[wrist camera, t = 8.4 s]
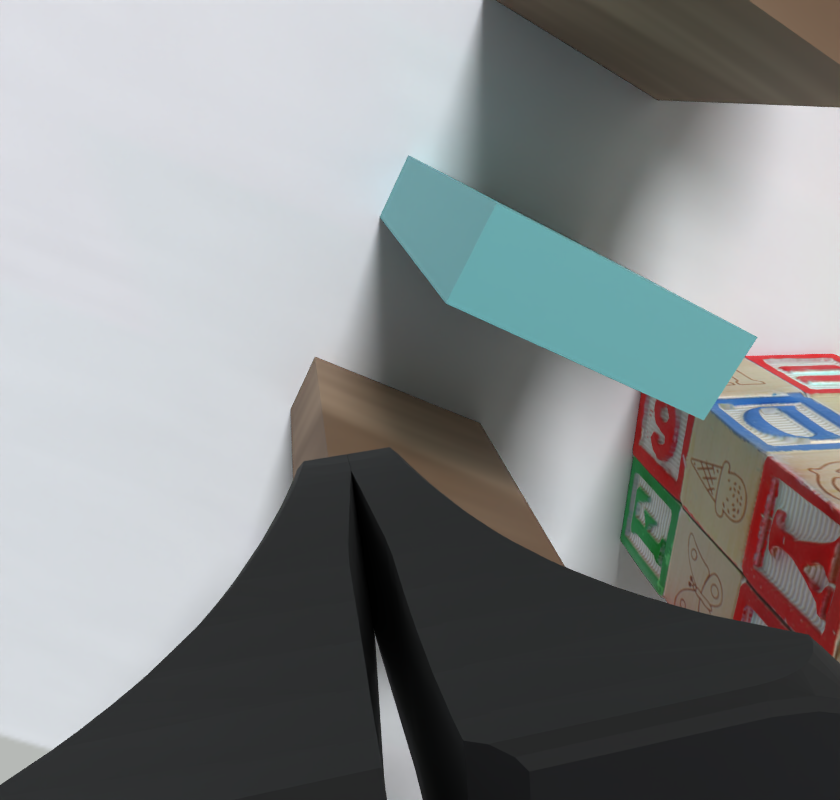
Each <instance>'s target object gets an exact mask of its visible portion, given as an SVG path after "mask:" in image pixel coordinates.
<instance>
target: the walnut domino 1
mask: <svg viewBox="0 0 840 800" xmlns="http://www.w3.org/2000/svg"><path fill="white" fill-rule="evenodd" d="M291 432H292V461H293V479H294V477H295V474H296V471H297V469H298V468H299V466H300V465H301V464H302V463H303V461H308V460H314V459H320V458H326V457H332V456H338V455H345V454H351V453H357V452H363V451H369V450H375V449H381V448H387V447H390V448H391V449H393V450H394V451H395V452H397V453H398V454H399V455H400V456H401V457H402V458H403V459H404V460H405V461H406V462H407V463H408V464H409V465H410V466H411V467H413V468H414V469H415V470H416V471H417V472H418V473H419V474H420V475H421V476H422V477H424V478H425V479H426V480H427V481H428V482H429V483H430V484H432V485H433V486H434V487H435V488H436V489H438V490H439V491H440V492H441V493H443V494H444V495H445V496H446V497H448V498H449V499H450V500H452V501H453V502H454V503H455V504H457V505H458V506H459V507H461V508H462V509H463V510H465V511H466V512H467V513H469V514H470V515H472V516H473V517H474V518H476V519H477V520H479V521H481V522H482V523H484V524H485V525H487V526H488V527H490V528H491V529H493V530H494V531H496V532H498V533H499V534H501V535H503V536H504V537H506V538H508V539H510V540H511V541H513V542H515V543H517V544H519V545H521V546H523V547H525V548H527V549H529V550H531V551H533V552H535V553H537V554H539V555H540V556H542V557H544V558H546V559H548V560H550V561H553V562H555V563H557V564H559V565H562V566H564V564H563V562H562V561H561V559H560V557H559V556H558V554H557V552H556V551H555V549H554V547H553V546H552V544H551V542H550V541H549V539H548V537H547V535H546V534H545V532H544V530H543V529H542V527H541V525H540V524H539V522H538V520H537V519H536V517H535V515H534V514H533V512H532V510H531V508H530V507H529V505H528V503H527V502H526V500H525V498H524V497H523V495H522V493H521V492H520V490H519V488H518V487H517V485H516V483H515V482H514V480H513V478H512V476H511V475H510V473H509V471H508V470H507V468H506V466H505V465H504V463H503V461H502V460H501V458H500V456H499V455H498V453H497V451H496V449H495V448H494V446H493V444H492V443H491V441H490V439H489V438H488V436H487V434H486V433H485V431H484V429H483V428H482V426H481V424H480V423H478V422H476V421H473V420H471V419H468V418H466V417H463V416H461V415H458V414H456V413H453V412H451V411H448V410H446V409H443V408H441V407H438V406H436V405H433V404H431V403H428V402H426V401H423V400H421V399H419V398H416V397H414V396H411V395H409V394H406V393H404V392H401V391H399V390H396V389H394V388H391V387H389V386H386V385H384V384H381V383H379V382H376V381H374V380H371V379H369V378H366V377H364V376H362V375H359V374H357V373H354V372H352V371H349V370H347V369H344V368H342V367H339V366H337V365H334V364H332V363H329V362H327V361H324V360H322V359H319V358H317V357H315V358H314V360H313V362H312V364H311V367H310V369H309V371H308V373H307V375H306V377H305V379H304V382H303V384H302V386H301V388H300V390H299V392H298V395H297V397H296V399H295V401H294V403H293V405H292V407H291ZM564 567H565V566H564Z"/></svg>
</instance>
